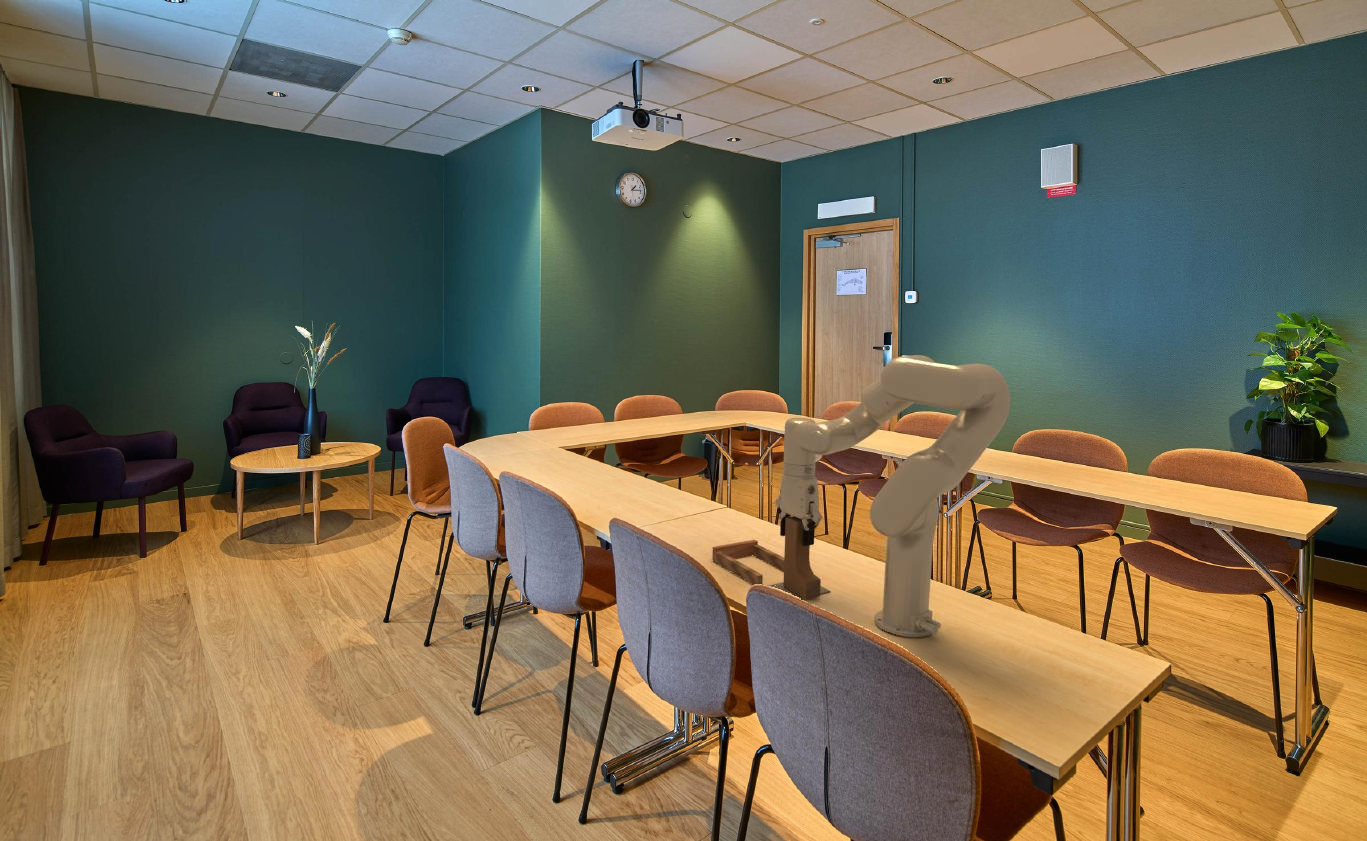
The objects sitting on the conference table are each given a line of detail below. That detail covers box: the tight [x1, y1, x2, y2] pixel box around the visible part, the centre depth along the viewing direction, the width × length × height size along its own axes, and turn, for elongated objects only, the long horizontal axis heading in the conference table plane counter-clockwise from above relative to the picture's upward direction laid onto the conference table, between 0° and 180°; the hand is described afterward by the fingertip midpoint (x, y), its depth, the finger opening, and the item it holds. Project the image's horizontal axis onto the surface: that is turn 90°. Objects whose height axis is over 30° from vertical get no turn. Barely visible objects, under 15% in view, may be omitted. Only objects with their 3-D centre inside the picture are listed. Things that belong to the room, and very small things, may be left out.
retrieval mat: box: [767, 581, 831, 600], centre depth 173 cm, size 10×14×1 cm
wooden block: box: [783, 516, 822, 600], centre depth 170 cm, size 9×4×18 cm, turn 29°
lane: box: [711, 539, 784, 586], centre depth 188 cm, size 22×14×4 cm, turn 29°
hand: (796, 539), depth 172 cm, fingers open, 8 cm apart
